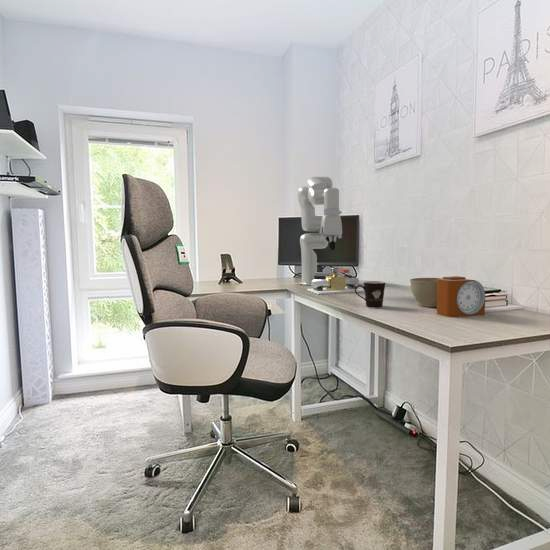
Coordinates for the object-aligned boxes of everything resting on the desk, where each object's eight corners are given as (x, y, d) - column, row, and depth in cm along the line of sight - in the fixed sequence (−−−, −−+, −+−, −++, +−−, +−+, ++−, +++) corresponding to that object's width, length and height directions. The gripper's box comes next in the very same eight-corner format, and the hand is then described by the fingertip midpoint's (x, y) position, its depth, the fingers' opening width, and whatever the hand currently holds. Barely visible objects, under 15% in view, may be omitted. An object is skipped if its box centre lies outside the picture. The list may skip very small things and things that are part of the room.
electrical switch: (332, 288, 217) (331, 272, 215) (328, 290, 213) (327, 273, 211) (317, 287, 222) (316, 271, 220) (313, 289, 218) (312, 273, 216)
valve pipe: (310, 289, 203) (310, 272, 203) (353, 287, 211) (353, 270, 210) (315, 291, 197) (315, 273, 196) (360, 288, 204) (360, 271, 203)
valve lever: (330, 270, 204) (330, 267, 204) (336, 270, 205) (336, 267, 205) (342, 273, 190) (342, 269, 190) (350, 272, 191) (350, 269, 191)
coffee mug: (386, 305, 158) (386, 281, 157) (383, 308, 150) (383, 283, 149) (358, 303, 162) (358, 280, 162) (354, 307, 155) (354, 282, 154)
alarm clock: (450, 317, 131) (451, 278, 130) (434, 313, 139) (435, 276, 138) (485, 314, 135) (486, 277, 134) (467, 310, 143) (468, 275, 142)
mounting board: (307, 290, 207) (307, 288, 207) (351, 288, 214) (351, 286, 214) (318, 294, 192) (318, 292, 191) (366, 291, 199) (366, 289, 199)
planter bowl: (435, 301, 164) (436, 276, 163) (461, 308, 149) (462, 280, 148) (402, 303, 161) (402, 278, 160) (424, 310, 145) (425, 282, 144)
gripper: (341, 214, 195) (341, 249, 196) (314, 213, 191) (315, 250, 192) (348, 212, 188) (348, 249, 189) (320, 212, 184) (321, 250, 185)
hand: (331, 249), depth 191 cm, fingers closed
